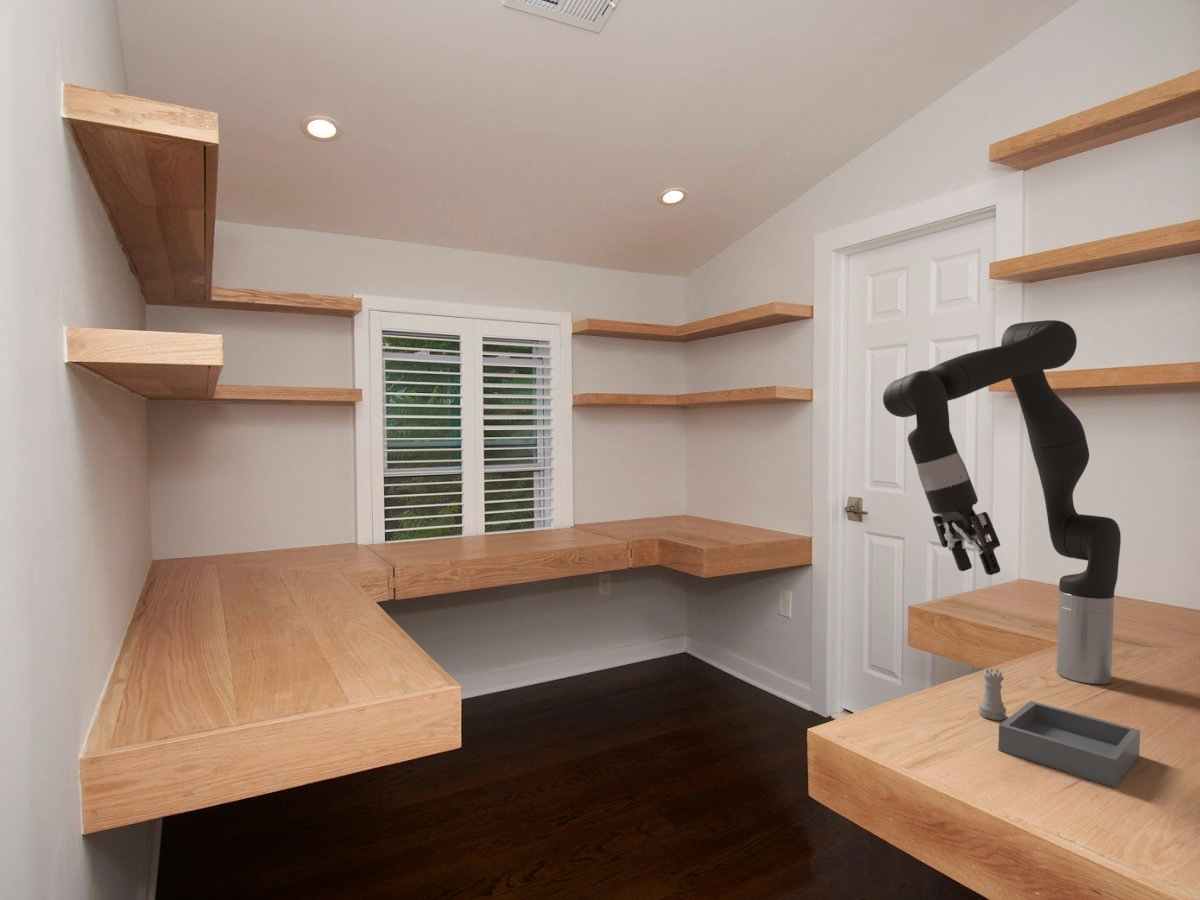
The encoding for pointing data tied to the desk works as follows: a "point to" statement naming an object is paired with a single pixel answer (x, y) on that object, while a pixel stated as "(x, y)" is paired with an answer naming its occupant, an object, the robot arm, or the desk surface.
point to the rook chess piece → (992, 696)
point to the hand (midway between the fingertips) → (979, 571)
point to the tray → (1070, 742)
